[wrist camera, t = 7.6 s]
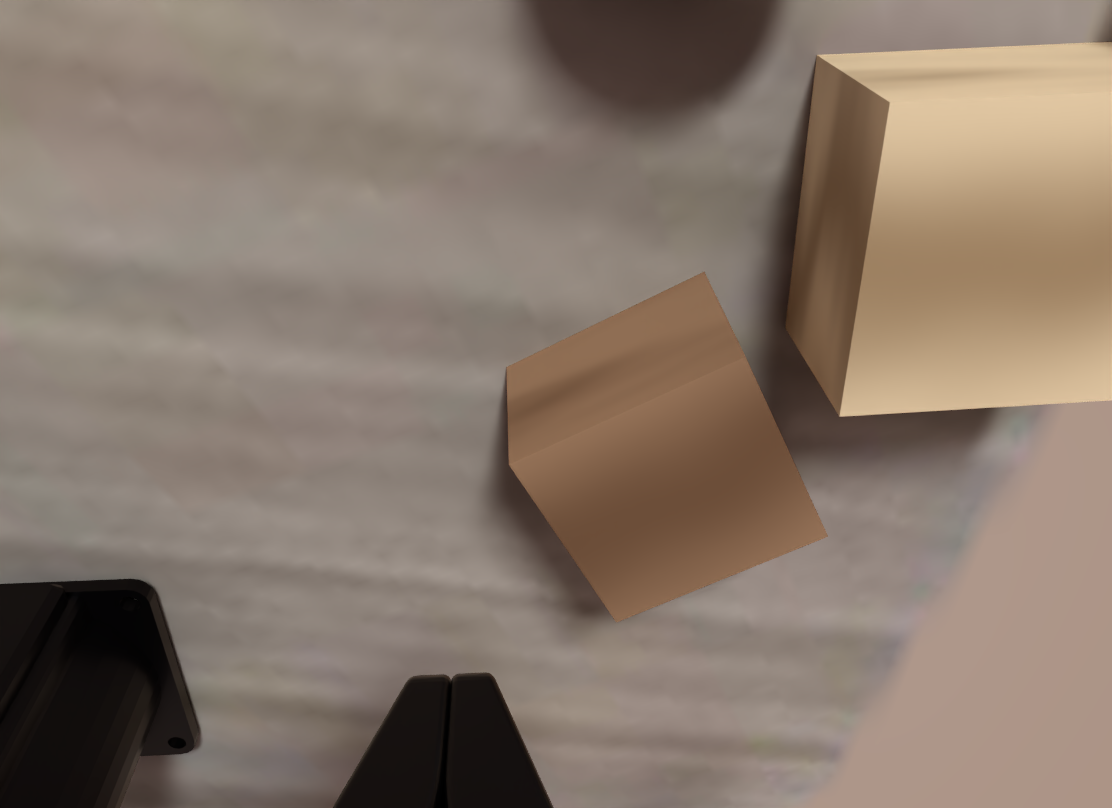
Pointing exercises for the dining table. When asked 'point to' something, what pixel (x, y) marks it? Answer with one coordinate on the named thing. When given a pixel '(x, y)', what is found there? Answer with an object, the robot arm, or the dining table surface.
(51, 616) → the robot arm
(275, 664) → the dining table surface
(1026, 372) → the maple block
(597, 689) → the dining table surface
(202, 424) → the dining table surface
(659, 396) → the walnut block
